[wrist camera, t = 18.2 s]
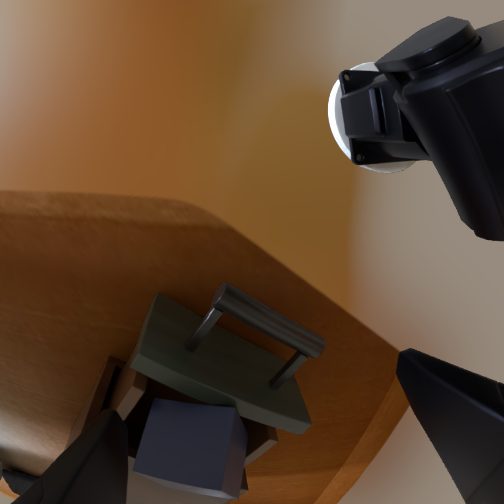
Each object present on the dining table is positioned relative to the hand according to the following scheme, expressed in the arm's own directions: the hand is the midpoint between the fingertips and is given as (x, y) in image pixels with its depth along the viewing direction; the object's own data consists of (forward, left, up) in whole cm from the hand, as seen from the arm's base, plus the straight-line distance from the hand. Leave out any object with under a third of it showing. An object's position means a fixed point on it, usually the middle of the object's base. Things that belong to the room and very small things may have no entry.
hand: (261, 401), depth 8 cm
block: (+4, +8, -6) cm, 11 cm away
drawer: (+4, +8, -12) cm, 15 cm away
